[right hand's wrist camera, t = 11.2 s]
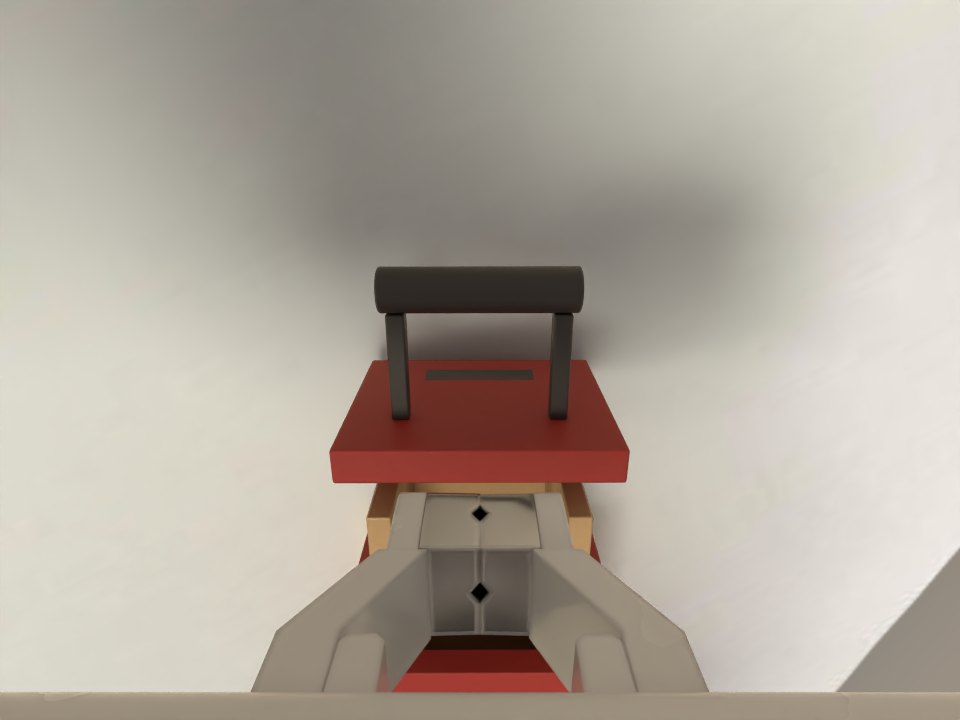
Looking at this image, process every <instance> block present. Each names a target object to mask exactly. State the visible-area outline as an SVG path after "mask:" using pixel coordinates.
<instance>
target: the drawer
mask: <svg viewBox="0 0 960 720" xmlns="http://www.w3.org/2000/svg"><path fill="white" fill-rule="evenodd" d="M374 294H375V303H376V308H377V311H378V312H379V313H387V314H386V316H385V323H386V339H387V354H388V360H374V361H373V362H372V364H371V366H370V368H369V370H368V372H367V374H366V376H365V378H364V380H363V382H362V385H361V387H360V389H359V391H358V393H357V395H356V397H355V399H354V401H353V403H352V405H351V407H350V410H349V412H348V414H347V416H346V418H345V420H344V422H343V424H342V426H341V428H340V430H339V432H338V435H337V437H336V439H335V441H334V443H333V445H332V447H331V449H330V452H329V453H330V462H331V470H332V479H333V482H334V483H377V484H376V488H375V491H374V494H373V498H372V501H371V505H370V508H369V511H368V515H367V518H366V520H367V531H368V542H369V553H370V555H371V554H372V553H374V552H375V551H376V550H377V549H386V546H387V541H388V537H389V533H390V528H391V524H392V520H393V515H394V511H395V507H396V502H397V498H398V496H399V494H400V493H401V492H426V493H427V494H428V492H431V493H479V494H525V493H543V492H559V493H560V494H561V495H562V499H563V503H564V507H565V512H566V516H567V520H568V524H569V529H570V533H571V537H572V541H573V546H574V549H583V550H584V551H585V552H586V553H588V554H589V555H590V547H591V535H592V524H593V516H592V513H591V510H590V506H589V503H588V500H587V496H586V493H585V490H584V486H583V483H622V482H626V480H627V471H628V462H629V453H630V451H629V448H628V446H627V444H626V442H625V440H624V438H623V436H622V434H621V432H620V430H619V428H618V425H617V423H616V421H615V419H614V417H613V415H612V413H611V411H610V409H609V407H608V405H607V403H606V401H605V399H604V396H603V394H602V392H601V390H600V388H599V386H598V384H597V382H596V380H595V378H594V376H593V374H592V372H591V370H590V367H589V365H588V363H587V361H586V360H571V349H572V333H573V314H572V313H579V312H580V311H581V309H582V305H583V299H584V276H583V271H582V268H581V267H579V266H507V267H378V268H377V270H376V273H375V280H374ZM406 313H553V314H552V336H551V357H550V360H408V342H407V323H406ZM423 650H537V648H536V647H535V645H534V644H533V643H532V641H531V640H530V639H529V636H517V635H482V634H477V635H442V636H431V639H430V641H429V642H428V643H427V645H426V646H425V647H424V649H423Z"/></svg>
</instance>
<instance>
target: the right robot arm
mask: <svg viewBox="0 0 960 720" xmlns="http://www.w3.org/2000/svg"><path fill="white" fill-rule="evenodd" d="M477 634H482V635H517V636H529V639H530V640H531V641H532V643H533V644H534V645H535V647H536V648H537V650H538V651H539V652H540V654H541V655H542V656H543V658H544V659H545V660H546V662H547V663H548V665H549V666H550V667H551V669H552V670H553V671H554V673H555V674H556V675H557V677H558V678H559V679H560V681H561V682H562V684H563V685H564V686H565V688H566V689H567V690H568V692H569V693H564V692H392V691H393V689H394V688H395V687H396V685H397V684H398V683H399V681H400V680H401V679H402V677H403V676H404V674H405V673H406V672H407V670H408V669H409V668H410V666H411V665H412V664H413V662H414V661H415V660H416V658H417V657H418V656H419V654H420V653H421V651H422V650H423V649H424V647H425V646H426V645H427V643H428V642H429V641H430V639H431V636H442V635H477ZM0 720H960V692H709V690H708V688H707V685H706V683H705V681H704V678H703V676H702V673H701V671H700V669H699V666H698V664H697V661H696V659H695V656H694V654H693V652H692V649H691V647H690V644H689V642H688V640H687V637H686V635H685V632H684V631H683V630H681V629H680V628H679V627H678V626H677V625H675V624H674V623H673V622H672V621H670V620H669V619H668V618H667V617H665V616H664V615H663V614H662V613H660V612H659V611H658V610H657V609H656V608H654V607H653V606H652V605H651V604H649V603H648V602H647V601H646V600H644V599H643V598H642V597H641V596H639V595H638V594H637V593H636V592H635V591H633V590H632V589H631V588H630V587H628V586H627V585H626V584H625V583H623V582H622V581H621V580H620V579H618V578H617V577H616V576H615V575H614V574H612V573H611V572H610V571H609V570H607V569H606V568H605V567H604V566H602V565H601V564H600V563H599V562H597V561H596V560H595V559H594V558H593V557H591V556H590V555H589V554H588V553H586V552H585V551H584V550H583V549H574V546H573V541H572V537H571V533H570V529H569V524H568V520H567V516H566V512H565V507H564V503H563V499H562V495H561V494H560V493H559V492H543V493H525V494H479V493H431V492H428V494H427V493H426V492H401V493H400V494H399V496H398V498H397V502H396V507H395V511H394V515H393V520H392V524H391V528H390V533H389V537H388V541H387V546H386V549H377V550H376V551H375V552H374V553H372V554H371V555H370V556H369V557H367V558H366V559H365V560H364V561H363V562H361V563H360V564H359V565H358V566H356V567H355V568H354V569H353V570H351V571H350V572H349V573H348V574H346V575H345V576H344V577H343V578H341V579H340V580H339V581H338V582H336V583H335V584H334V585H333V586H331V587H330V588H329V589H328V590H327V591H325V592H324V593H323V594H322V595H320V596H319V597H318V598H317V599H315V600H314V601H313V602H312V603H310V604H309V605H308V606H307V607H305V608H304V609H303V610H302V611H300V612H299V613H298V614H297V615H295V616H294V617H293V618H292V619H291V620H289V621H288V622H287V623H286V624H284V625H283V626H282V627H281V628H279V629H278V630H277V631H276V633H275V635H274V638H273V640H272V643H271V645H270V647H269V650H268V652H267V654H266V657H265V659H264V662H263V664H262V666H261V669H260V671H259V673H258V676H257V678H256V681H255V683H254V685H253V688H252V690H251V692H0Z"/></svg>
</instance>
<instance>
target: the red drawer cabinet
mask: <svg viewBox="0 0 960 720" xmlns="http://www.w3.org/2000/svg"><path fill="white" fill-rule="evenodd" d="M369 556H370V553H369V542H368V533H367V537H366V540H365V544H364V547H363V551H362V554H361V558H360V561H359V564H360V563H361V562H363V561H364V560H365V559H366V558H367V557H369ZM590 556H591V557H593V558H594V559H595V560H596V561H597V562H599V563H600V564H601V562H600V559H599V555H598V552H597V548H596V545H595V541H594V538H593V534H592V535H591V547H590ZM392 692H564V693H569V692H568V690H567V689H566V688H565V686H564V685H563V684H562V682H561V681H560V679H559V678H558V677H557V675H556V674H555V673H554V671H553V670H552V669H551V667H550V666H549V665H548V663H547V662H546V660H545V659H544V658H543V656H542V655H541V654H540V652H539V651H538V650H422V651H421V653H420V654H419V656H418V657H417V658H416V660H415V661H414V662H413V664H412V665H411V666H410V668H409V669H408V670H407V672H406V673H405V674H404V676H403V677H402V679H401V680H400V681H399V683H398V684H397V685H396V687H395V688H394V689H393V691H392Z"/></svg>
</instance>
